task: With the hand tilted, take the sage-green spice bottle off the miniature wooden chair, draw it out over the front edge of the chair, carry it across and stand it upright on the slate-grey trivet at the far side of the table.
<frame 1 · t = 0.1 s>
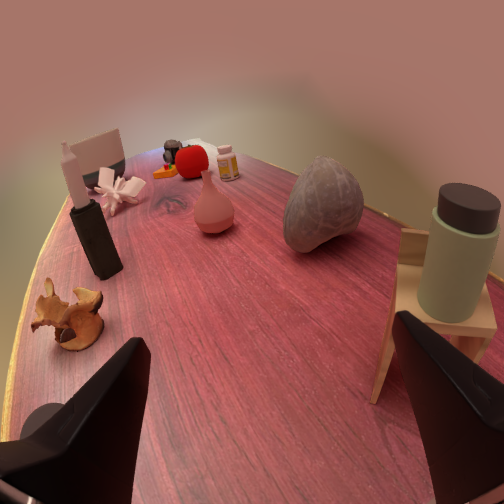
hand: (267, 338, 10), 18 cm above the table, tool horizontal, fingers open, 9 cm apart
camera: (173, 163, 119), on the table
pink bud vase: (217, 231, 58), on the table
figurine: (121, 207, 81), on the table
decorative stone: (326, 246, 48), on the table
tomato: (195, 177, 94), on the table
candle: (109, 271, 51), on the table
orange square tile: (168, 174, 103), on the table
trivet: (58, 443, 22), on the table
planter: (107, 187, 106), on the table
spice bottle: (446, 299, 18), point 11 cm above the table, touching miniature wooden chair
miniature wooden chair: (412, 379, 25), on the table
bone: (82, 332, 37), on the table
supplement bottle: (230, 179, 86), on the table
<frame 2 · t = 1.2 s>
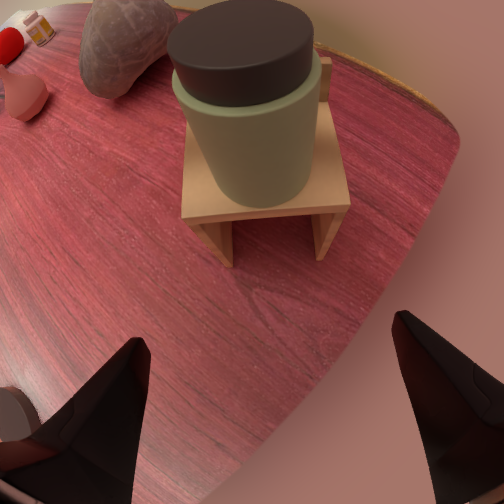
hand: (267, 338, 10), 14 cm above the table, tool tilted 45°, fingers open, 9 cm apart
pink bud vase: (38, 110, 35), on the table
decorative stone: (147, 75, 33), on the table
tomato: (15, 57, 46), on the table
trivet: (20, 421, 23), on the table
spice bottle: (261, 163, 14), point 11 cm above the table, touching miniature wooden chair
miniature wooden chair: (271, 224, 26), on the table
supplement bottle: (47, 40, 44), on the table
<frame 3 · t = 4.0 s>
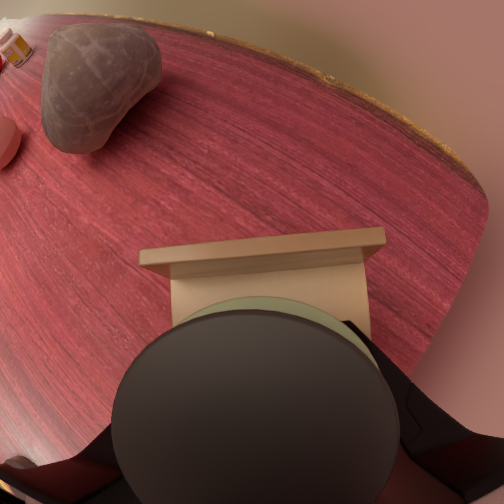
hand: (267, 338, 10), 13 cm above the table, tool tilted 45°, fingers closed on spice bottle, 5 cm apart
pink bud vase: (13, 154, 32), on the table
decorative stone: (128, 119, 29), on the table
trivet: (34, 485, 20), on the table
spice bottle: (272, 370, 11), point 11 cm above the table, touching gripper, miniature wooden chair
miniature wooden chair: (277, 334, 22), on the table
supplement bottle: (24, 59, 40), on the table
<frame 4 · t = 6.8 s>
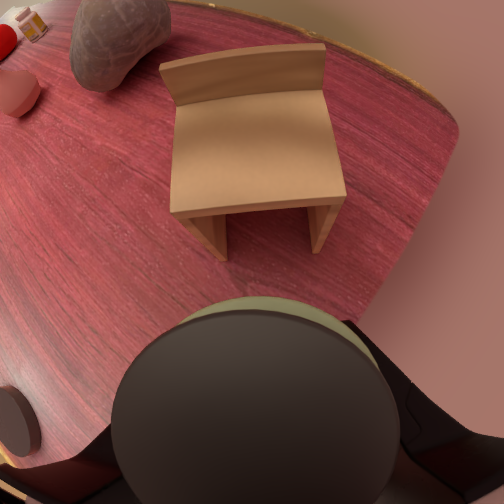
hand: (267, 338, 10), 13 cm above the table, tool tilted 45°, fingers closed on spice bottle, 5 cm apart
pink bud vase: (31, 106, 34), on the table
decorative stone: (140, 68, 32), on the table
tomato: (8, 53, 44), on the table
trivet: (17, 420, 23), on the table
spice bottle: (272, 370, 11), point 12 cm above the table, touching gripper
miniature wooden chair: (266, 216, 25), on the table
supplement bottle: (40, 36, 42), on the table
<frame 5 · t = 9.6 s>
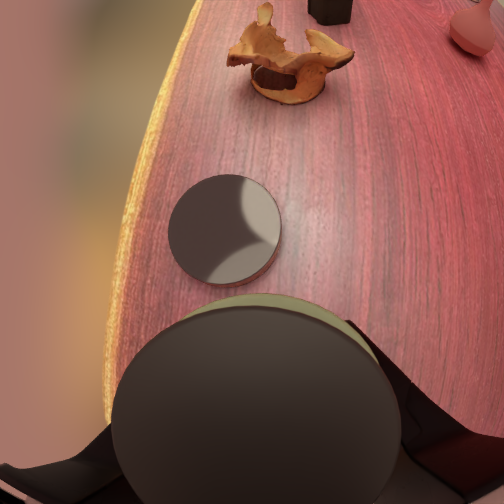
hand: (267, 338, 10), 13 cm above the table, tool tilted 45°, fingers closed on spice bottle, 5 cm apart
pink bud vase: (464, 48, 28), on the table
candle: (328, 17, 31), on the table
trivet: (227, 233, 25), on the table
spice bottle: (272, 369, 11), point 12 cm above the table, touching gripper
bone: (289, 80, 28), on the table
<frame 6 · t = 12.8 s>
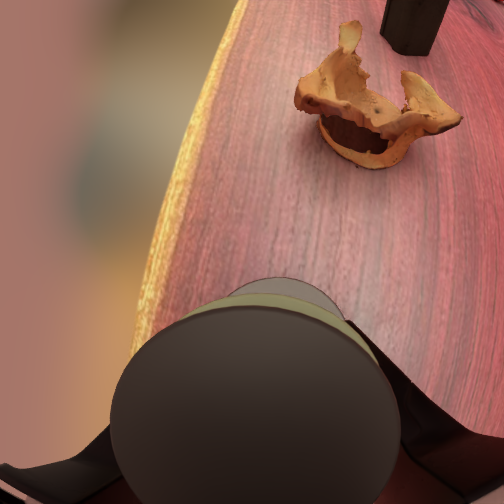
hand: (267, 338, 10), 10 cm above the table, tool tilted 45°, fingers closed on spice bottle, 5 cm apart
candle: (404, 43, 24), on the table
trivet: (277, 349, 19), on the table
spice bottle: (272, 369, 11), point 8 cm above the table, touching gripper
bone: (365, 129, 22), on the table
when the fingers open (4 cm above the table, at t = 15.1 s): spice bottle stays where it is, resting on trivet.
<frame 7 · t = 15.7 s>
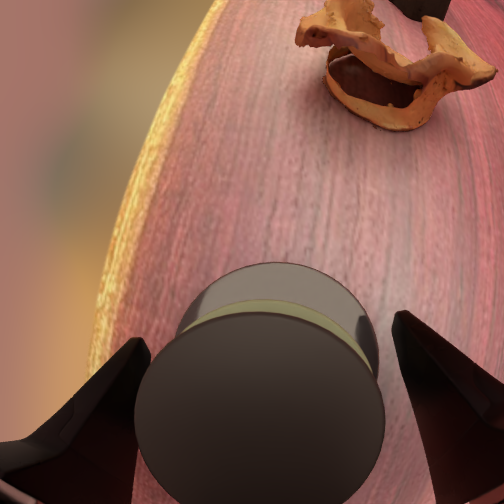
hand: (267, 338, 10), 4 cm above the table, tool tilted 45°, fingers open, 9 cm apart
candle: (415, 11, 19), on the table
trivet: (275, 362, 14), on the table
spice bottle: (273, 367, 12), point 2 cm above the table, touching trivet
bone: (381, 88, 17), on the table
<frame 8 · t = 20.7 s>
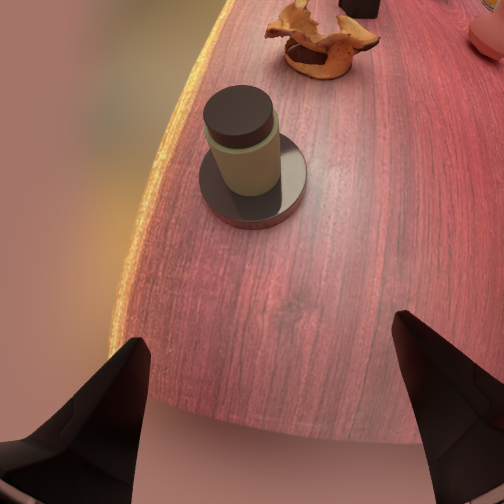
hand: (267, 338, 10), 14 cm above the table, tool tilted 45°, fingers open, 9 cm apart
pink bud vase: (481, 52, 28), on the table
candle: (357, 11, 32), on the table
trivet: (254, 181, 26), on the table
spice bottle: (251, 170, 24), point 2 cm above the table, touching trivet
bone: (319, 59, 29), on the table
supplement bottle: (490, 8, 32), on the table
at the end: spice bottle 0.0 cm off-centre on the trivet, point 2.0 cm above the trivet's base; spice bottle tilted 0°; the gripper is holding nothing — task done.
